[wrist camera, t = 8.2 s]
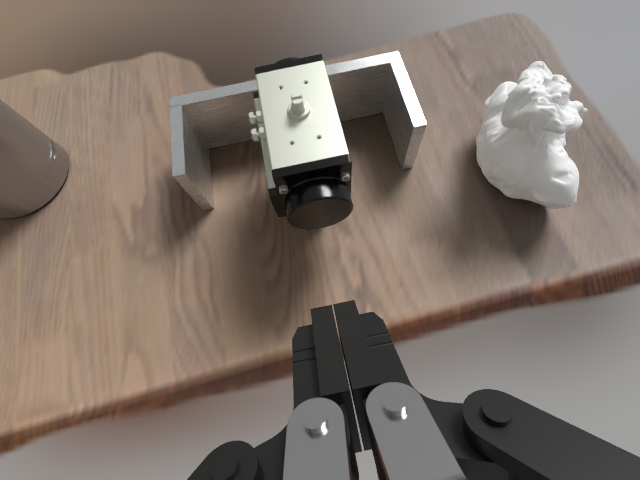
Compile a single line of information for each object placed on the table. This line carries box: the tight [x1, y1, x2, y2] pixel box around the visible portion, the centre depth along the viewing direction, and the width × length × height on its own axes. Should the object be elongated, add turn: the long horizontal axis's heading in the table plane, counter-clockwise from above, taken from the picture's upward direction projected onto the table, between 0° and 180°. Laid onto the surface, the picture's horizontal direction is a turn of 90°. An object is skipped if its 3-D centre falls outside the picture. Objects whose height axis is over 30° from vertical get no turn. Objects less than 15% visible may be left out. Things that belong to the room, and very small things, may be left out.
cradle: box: [170, 51, 427, 211], centre depth 30 cm, size 20×8×6 cm, turn 101°
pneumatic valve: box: [249, 54, 353, 229], centre depth 25 cm, size 6×12×12 cm, turn 11°
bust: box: [476, 61, 587, 209], centre depth 26 cm, size 12×8×11 cm
